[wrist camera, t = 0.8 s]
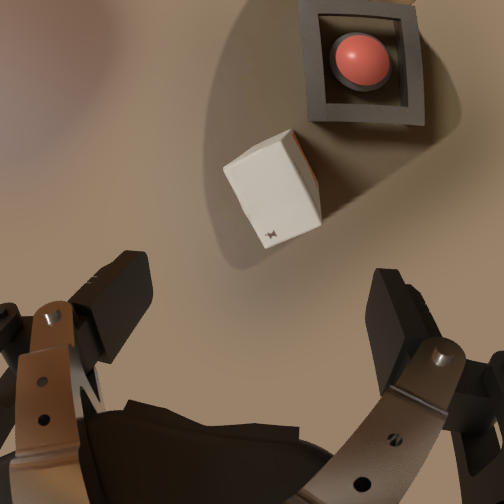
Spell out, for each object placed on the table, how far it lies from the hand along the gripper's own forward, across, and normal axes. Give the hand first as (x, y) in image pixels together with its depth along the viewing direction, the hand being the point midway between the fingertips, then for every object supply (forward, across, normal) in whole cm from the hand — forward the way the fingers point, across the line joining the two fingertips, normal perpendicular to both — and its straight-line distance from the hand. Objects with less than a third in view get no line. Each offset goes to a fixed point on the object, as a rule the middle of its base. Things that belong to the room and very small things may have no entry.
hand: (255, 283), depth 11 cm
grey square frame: (+21, -7, -11) cm, 24 cm away
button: (+19, -7, -11) cm, 23 cm away
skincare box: (+21, 0, 0) cm, 21 cm away
